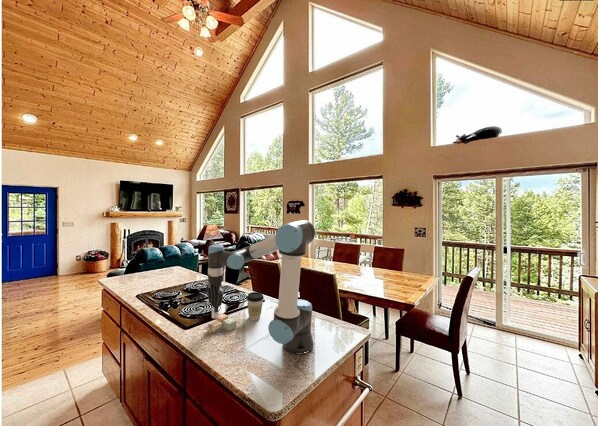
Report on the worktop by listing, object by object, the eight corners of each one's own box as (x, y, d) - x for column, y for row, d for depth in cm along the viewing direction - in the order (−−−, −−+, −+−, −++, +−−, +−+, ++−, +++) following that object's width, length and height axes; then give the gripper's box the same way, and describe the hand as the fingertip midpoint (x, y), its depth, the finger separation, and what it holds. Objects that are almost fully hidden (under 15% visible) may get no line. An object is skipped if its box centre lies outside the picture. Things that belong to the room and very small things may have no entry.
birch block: (221, 330, 153) (221, 322, 152) (213, 333, 149) (213, 326, 148) (216, 326, 156) (216, 319, 155) (208, 330, 152) (208, 323, 151)
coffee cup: (259, 324, 162) (260, 299, 160) (243, 322, 164) (244, 297, 162) (265, 316, 172) (266, 292, 170) (249, 314, 173) (250, 290, 172)
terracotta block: (228, 322, 161) (228, 315, 160) (220, 326, 157) (220, 319, 156) (222, 319, 164) (222, 312, 163) (215, 323, 160) (215, 315, 159)
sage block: (236, 327, 156) (236, 320, 156) (229, 330, 152) (229, 323, 152) (230, 324, 159) (230, 316, 159) (223, 327, 155) (223, 320, 155)
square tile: (236, 329, 156) (236, 327, 156) (218, 338, 147) (218, 336, 147) (222, 321, 164) (222, 319, 164) (204, 329, 154) (204, 327, 154)
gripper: (229, 275, 147) (228, 318, 151) (214, 269, 155) (213, 310, 159) (217, 279, 142) (216, 324, 145) (201, 272, 149) (201, 315, 153)
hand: (214, 317), depth 152 cm, fingers closed
